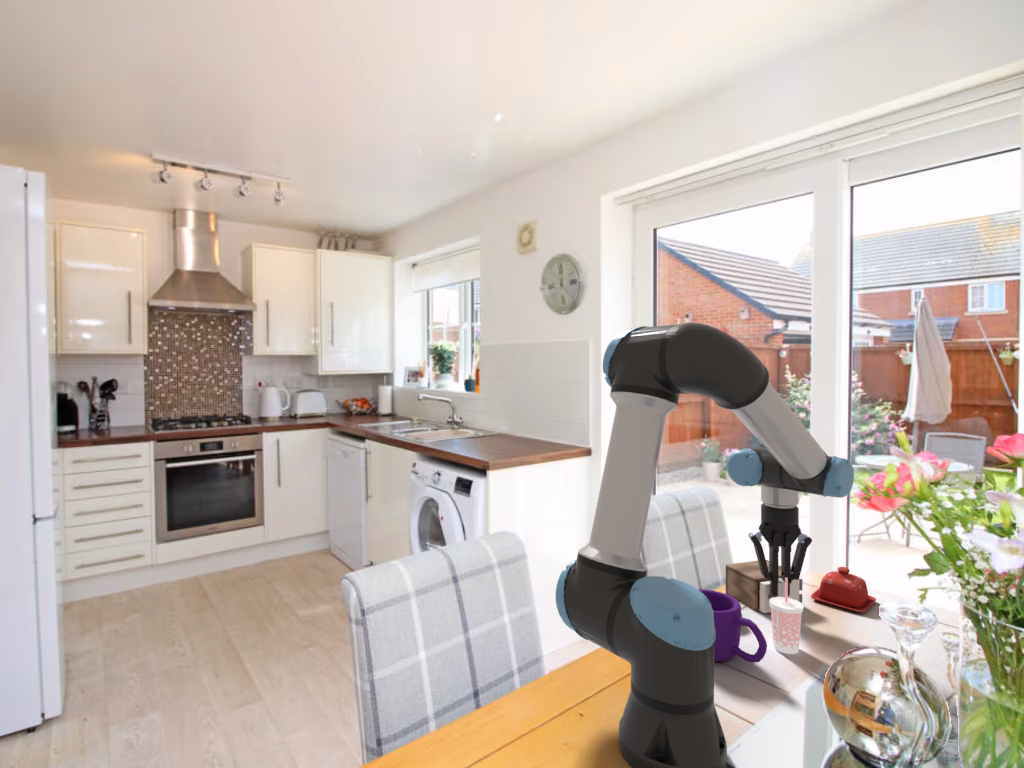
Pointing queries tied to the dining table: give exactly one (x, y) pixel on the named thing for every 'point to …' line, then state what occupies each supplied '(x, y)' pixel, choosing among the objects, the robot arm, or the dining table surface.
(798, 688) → the dining table surface
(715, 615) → the mug
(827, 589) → the butter dish
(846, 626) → the dining table surface
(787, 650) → the beverage cup
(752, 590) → the cabinet
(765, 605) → the door
